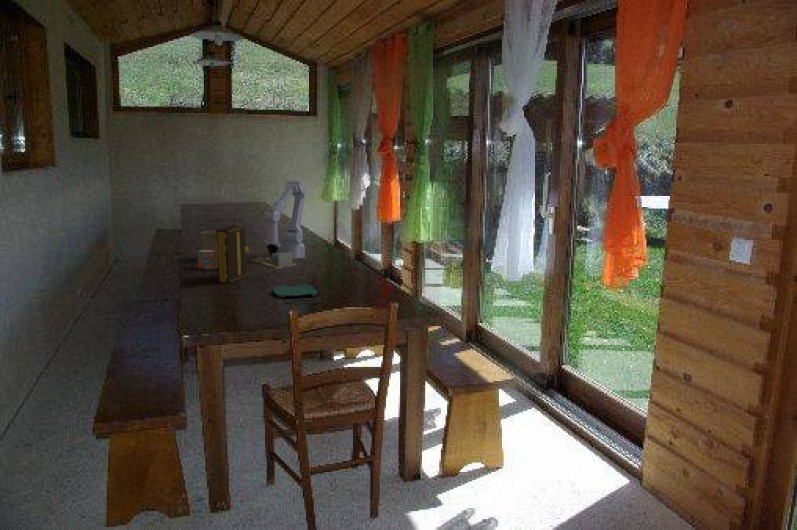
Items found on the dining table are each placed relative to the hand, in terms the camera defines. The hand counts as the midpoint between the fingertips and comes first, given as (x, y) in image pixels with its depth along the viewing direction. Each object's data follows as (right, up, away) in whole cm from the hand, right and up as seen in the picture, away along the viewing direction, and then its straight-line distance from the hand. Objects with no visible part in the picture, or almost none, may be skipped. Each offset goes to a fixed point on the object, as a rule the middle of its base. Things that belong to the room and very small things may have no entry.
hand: (273, 258), depth 347 cm
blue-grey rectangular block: (+4, -3, -5) cm, 7 cm away
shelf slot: (+1, -3, 0) cm, 3 cm away
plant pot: (-33, -1, +7) cm, 34 cm away
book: (-11, -10, -38) cm, 41 cm away
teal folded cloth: (+25, -18, -72) cm, 78 cm away
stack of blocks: (-25, -6, -15) cm, 29 cm away
